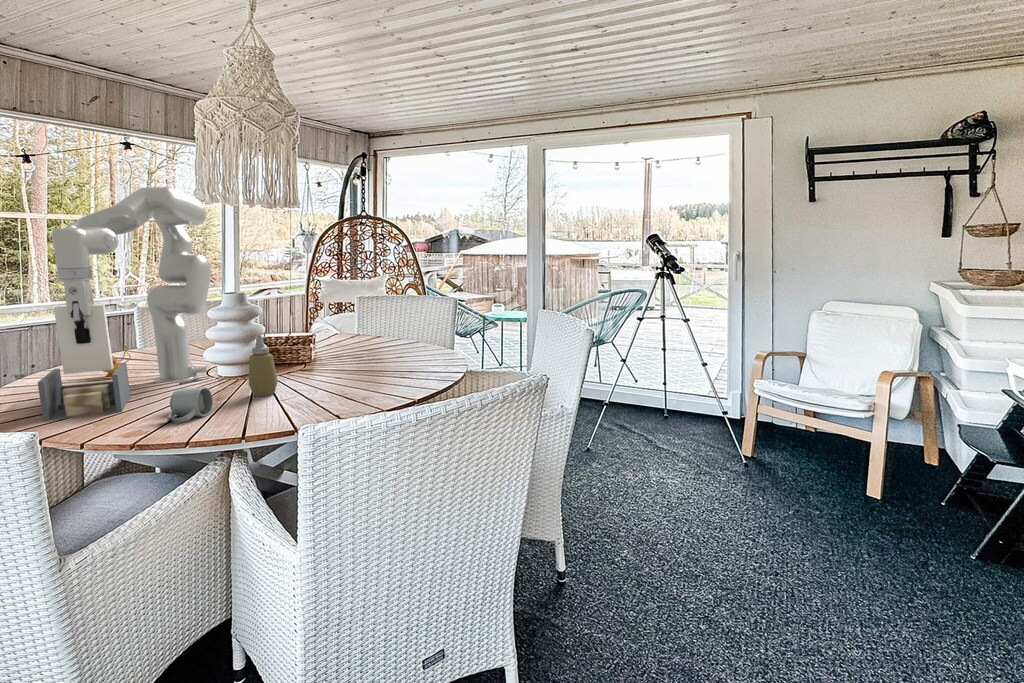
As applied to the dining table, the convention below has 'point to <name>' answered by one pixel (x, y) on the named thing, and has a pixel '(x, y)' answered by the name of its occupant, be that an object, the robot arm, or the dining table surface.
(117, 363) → the magic lamp
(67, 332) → the white panel
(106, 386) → the oak offcut tall
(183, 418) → the ceramic mug
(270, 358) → the squeeze bottle
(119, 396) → the rack
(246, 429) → the dining table surface
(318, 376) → the dining table surface
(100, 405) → the oak offcut short
